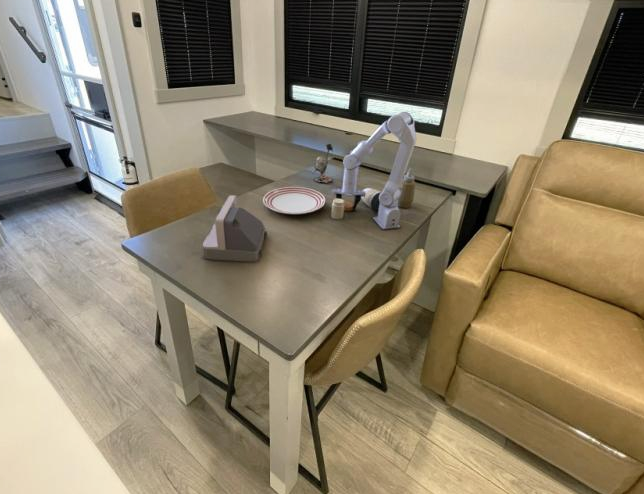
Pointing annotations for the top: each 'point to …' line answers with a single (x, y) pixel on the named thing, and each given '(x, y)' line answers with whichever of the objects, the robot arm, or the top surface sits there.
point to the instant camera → (234, 234)
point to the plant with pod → (322, 166)
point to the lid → (348, 206)
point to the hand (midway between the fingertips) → (346, 209)
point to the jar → (337, 209)
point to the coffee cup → (372, 198)
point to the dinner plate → (294, 200)
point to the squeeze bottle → (407, 190)
